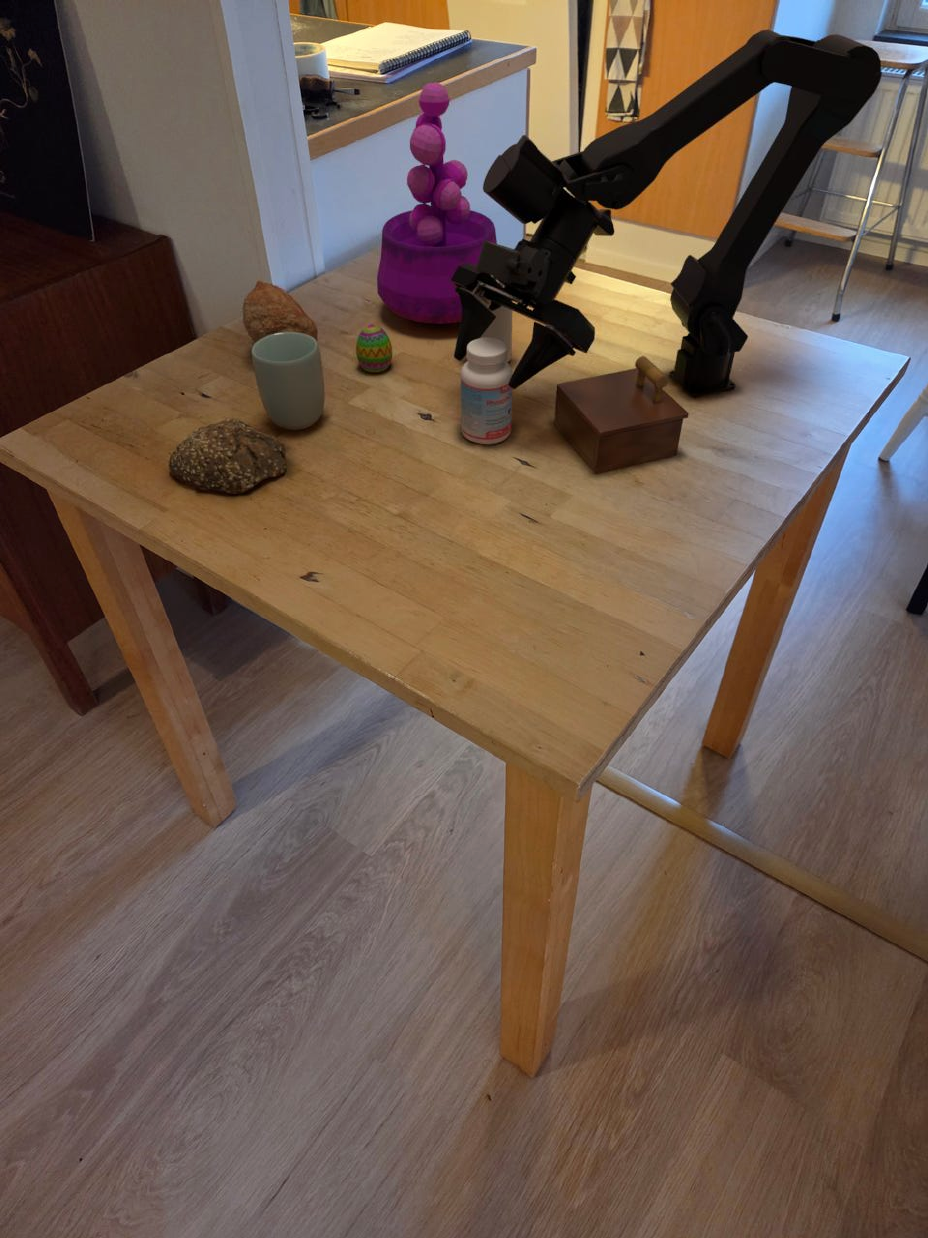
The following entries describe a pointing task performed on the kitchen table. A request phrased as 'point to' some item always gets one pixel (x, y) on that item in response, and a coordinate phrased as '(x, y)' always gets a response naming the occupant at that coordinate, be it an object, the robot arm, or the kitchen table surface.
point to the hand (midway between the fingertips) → (483, 372)
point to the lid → (623, 399)
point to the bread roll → (227, 457)
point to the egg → (374, 349)
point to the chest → (615, 440)
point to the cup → (289, 379)
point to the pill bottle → (486, 392)
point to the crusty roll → (274, 313)
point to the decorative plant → (431, 227)
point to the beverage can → (501, 327)
